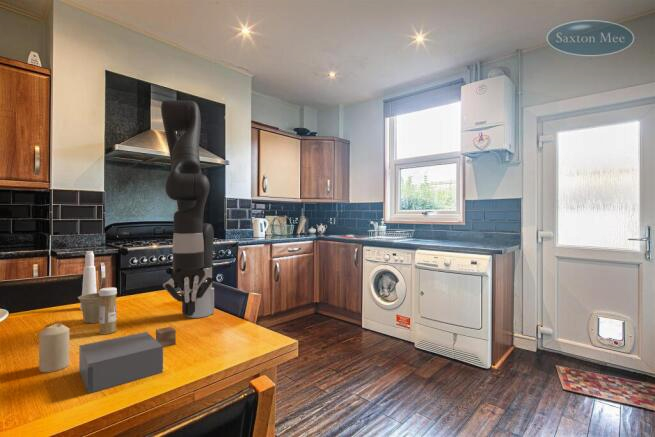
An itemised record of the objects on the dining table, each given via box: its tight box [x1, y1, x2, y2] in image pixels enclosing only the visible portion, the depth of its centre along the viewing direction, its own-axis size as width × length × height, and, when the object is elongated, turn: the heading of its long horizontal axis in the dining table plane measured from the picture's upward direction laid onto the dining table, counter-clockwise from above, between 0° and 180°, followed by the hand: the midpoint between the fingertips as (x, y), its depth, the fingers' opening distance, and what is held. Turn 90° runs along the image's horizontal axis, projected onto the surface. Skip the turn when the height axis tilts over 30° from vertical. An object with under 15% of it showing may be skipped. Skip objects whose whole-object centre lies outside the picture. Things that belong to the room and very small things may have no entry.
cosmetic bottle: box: [79, 250, 98, 311], centre depth 129 cm, size 6×6×22 cm
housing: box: [78, 331, 164, 394], centre depth 77 cm, size 14×13×6 cm
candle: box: [38, 322, 70, 374], centre depth 79 cm, size 6×6×10 cm
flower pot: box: [77, 292, 100, 324], centre depth 114 cm, size 9×9×9 cm
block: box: [155, 326, 177, 348], centre depth 94 cm, size 4×4×4 cm
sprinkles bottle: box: [98, 287, 118, 335], centre depth 103 cm, size 5×5×13 cm
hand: (188, 315), depth 88 cm, fingers closed
